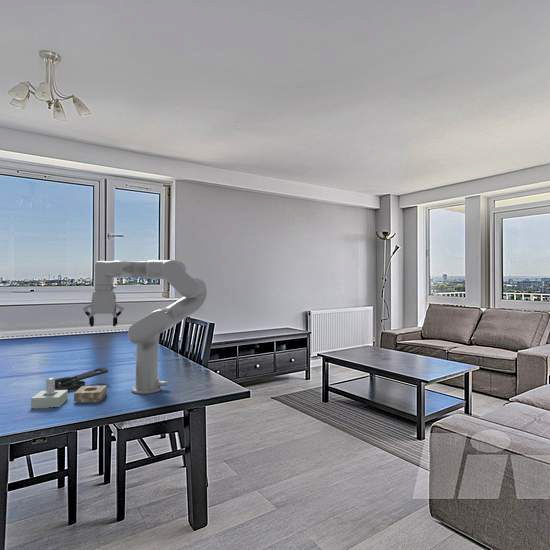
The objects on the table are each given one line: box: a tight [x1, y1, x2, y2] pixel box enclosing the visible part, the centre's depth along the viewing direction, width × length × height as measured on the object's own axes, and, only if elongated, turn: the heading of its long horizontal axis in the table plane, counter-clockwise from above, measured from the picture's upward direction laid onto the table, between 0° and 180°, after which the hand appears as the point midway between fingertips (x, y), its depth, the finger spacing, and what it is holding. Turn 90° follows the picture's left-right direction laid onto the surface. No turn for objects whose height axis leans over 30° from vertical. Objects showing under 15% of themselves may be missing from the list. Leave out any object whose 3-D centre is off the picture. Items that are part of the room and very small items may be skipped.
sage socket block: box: [30, 390, 69, 409], centre depth 162 cm, size 10×10×4 cm
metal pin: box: [45, 377, 56, 396], centre depth 162 cm, size 3×3×10 cm
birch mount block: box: [73, 385, 107, 403], centre depth 169 cm, size 10×10×4 cm
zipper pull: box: [55, 367, 109, 392], centre depth 186 cm, size 9×7×25 cm
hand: (103, 326), depth 184 cm, fingers open, 9 cm apart
